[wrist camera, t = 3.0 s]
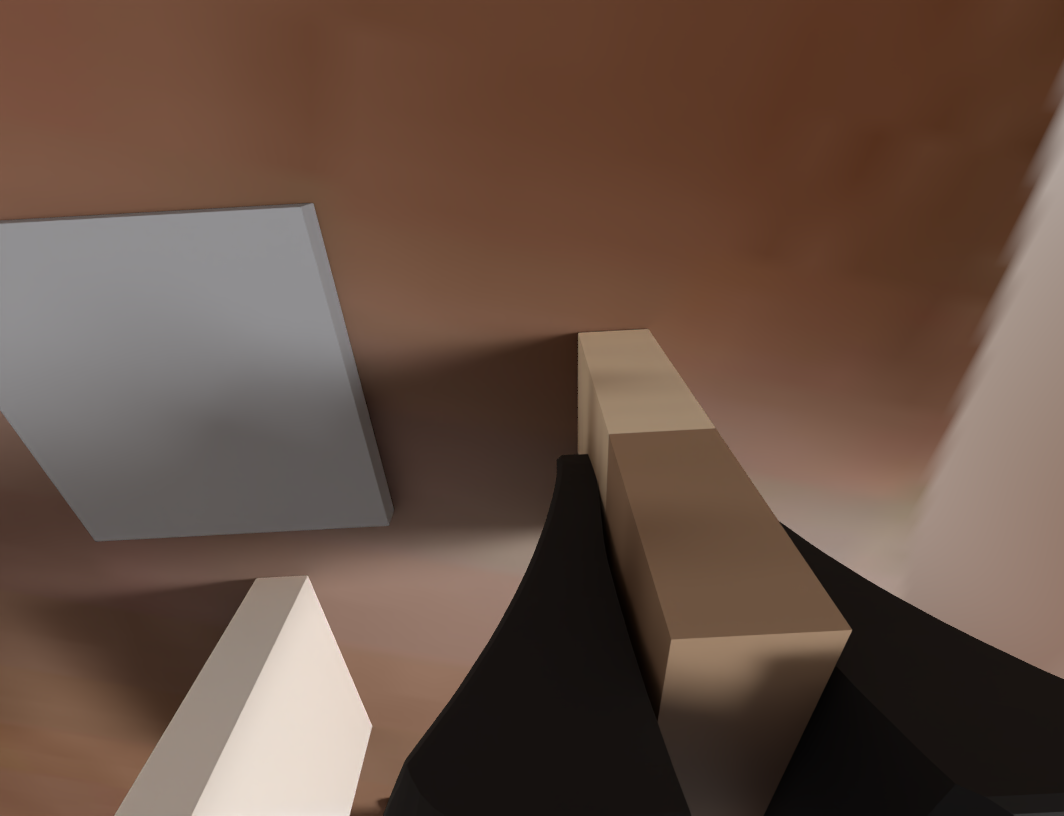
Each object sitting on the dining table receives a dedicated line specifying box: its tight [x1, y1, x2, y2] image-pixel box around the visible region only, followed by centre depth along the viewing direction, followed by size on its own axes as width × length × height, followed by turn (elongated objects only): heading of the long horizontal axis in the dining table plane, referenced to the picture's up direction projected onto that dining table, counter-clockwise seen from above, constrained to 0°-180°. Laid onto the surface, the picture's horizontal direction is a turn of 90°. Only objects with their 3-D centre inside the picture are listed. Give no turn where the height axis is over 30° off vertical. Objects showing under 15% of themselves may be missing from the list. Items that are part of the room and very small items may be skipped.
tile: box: [114, 575, 372, 816], centre depth 13 cm, size 9×2×8 cm, turn 3°
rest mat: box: [0, 203, 394, 541], centre depth 11 cm, size 8×8×1 cm
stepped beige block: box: [578, 329, 852, 816], centre depth 9 cm, size 6×2×8 cm, turn 3°
